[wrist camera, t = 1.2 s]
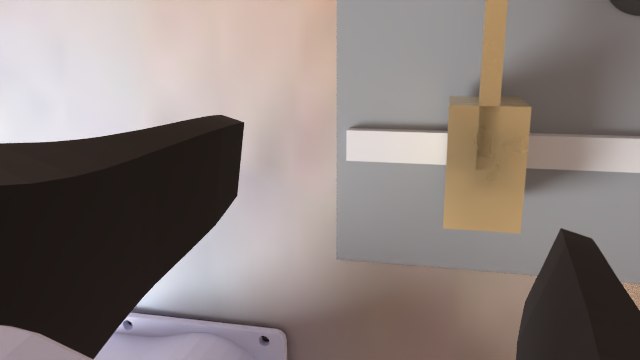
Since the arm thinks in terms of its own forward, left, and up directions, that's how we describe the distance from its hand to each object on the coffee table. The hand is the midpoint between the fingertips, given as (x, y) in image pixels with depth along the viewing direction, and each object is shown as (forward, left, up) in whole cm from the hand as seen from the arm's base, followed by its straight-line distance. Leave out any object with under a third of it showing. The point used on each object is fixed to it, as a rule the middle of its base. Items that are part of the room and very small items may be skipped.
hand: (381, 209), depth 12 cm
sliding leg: (+3, +2, -9) cm, 10 cm away
